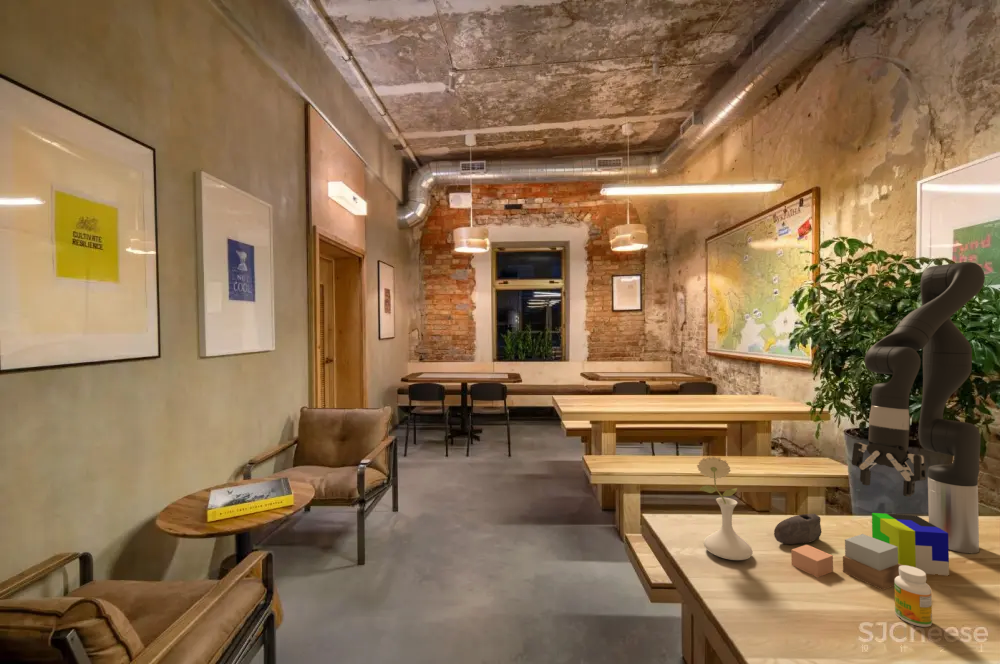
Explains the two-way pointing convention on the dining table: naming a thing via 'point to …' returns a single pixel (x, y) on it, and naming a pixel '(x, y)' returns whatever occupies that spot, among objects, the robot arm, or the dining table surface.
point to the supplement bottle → (913, 596)
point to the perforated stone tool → (798, 529)
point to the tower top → (871, 552)
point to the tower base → (871, 573)
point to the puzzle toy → (914, 541)
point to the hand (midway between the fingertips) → (885, 490)
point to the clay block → (812, 560)
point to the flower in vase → (723, 515)
